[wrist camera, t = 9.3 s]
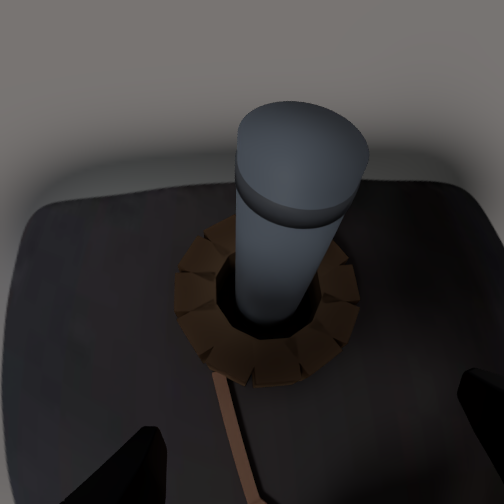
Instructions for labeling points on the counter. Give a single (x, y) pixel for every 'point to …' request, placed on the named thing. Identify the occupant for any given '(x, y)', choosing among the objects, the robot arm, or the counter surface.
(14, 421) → the counter surface
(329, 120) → the dark grey capped cylinder
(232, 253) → the brown segmented ring
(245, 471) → the lace
